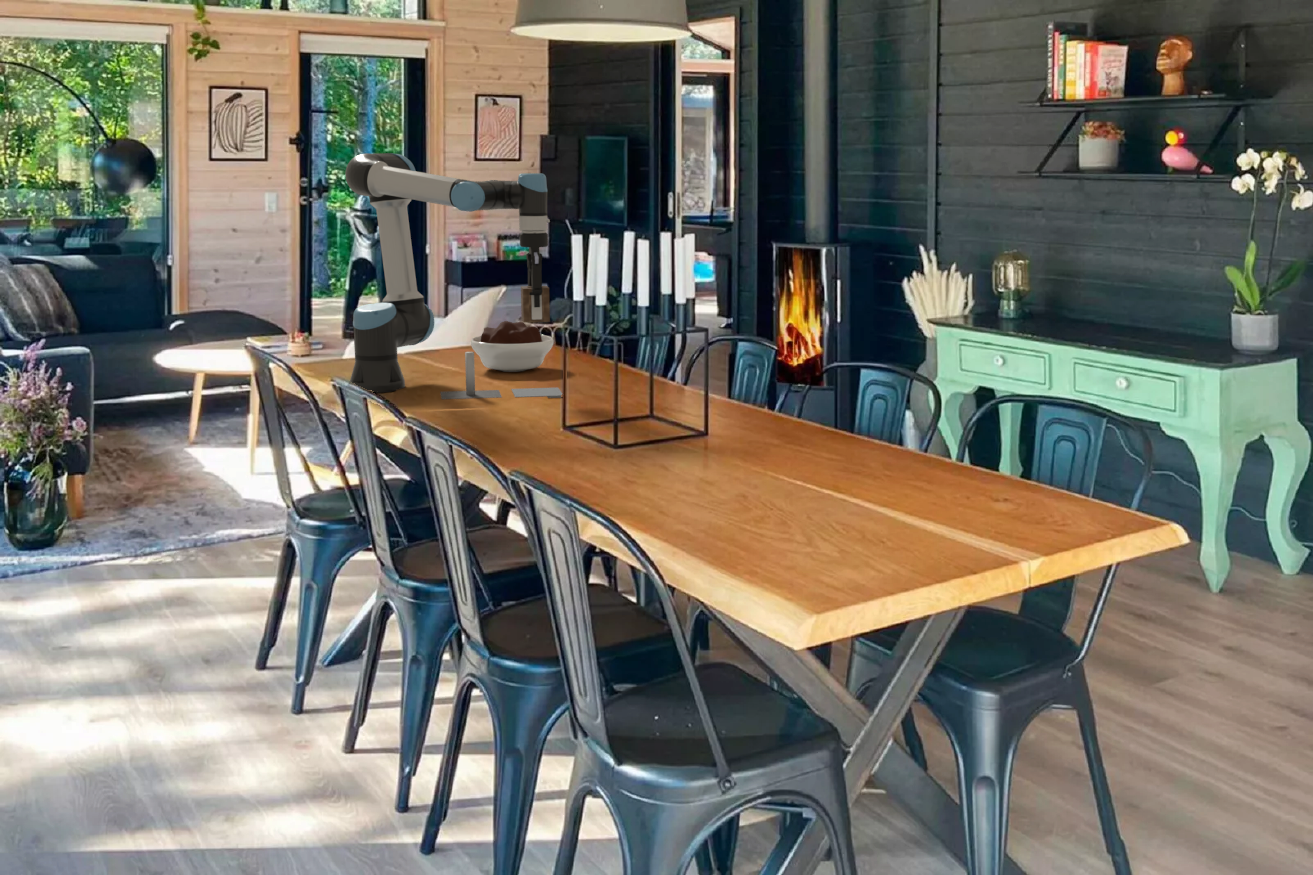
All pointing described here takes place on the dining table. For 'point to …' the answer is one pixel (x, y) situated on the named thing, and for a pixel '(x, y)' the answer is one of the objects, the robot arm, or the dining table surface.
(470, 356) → the post stand
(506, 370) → the white ceramic bowl
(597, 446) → the dining table surface
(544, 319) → the walnut collar
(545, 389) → the slate mat
